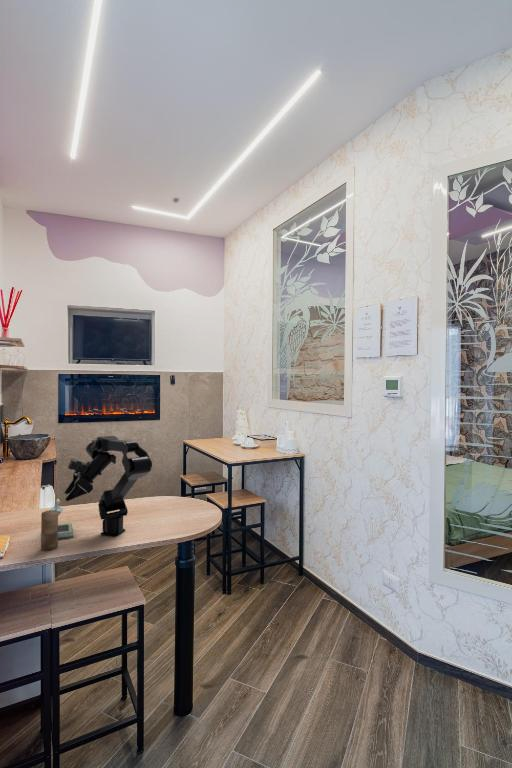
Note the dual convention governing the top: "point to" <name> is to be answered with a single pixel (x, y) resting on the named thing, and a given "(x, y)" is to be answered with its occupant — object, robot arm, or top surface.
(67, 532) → the green square tray
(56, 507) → the pacifier
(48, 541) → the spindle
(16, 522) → the top surface
